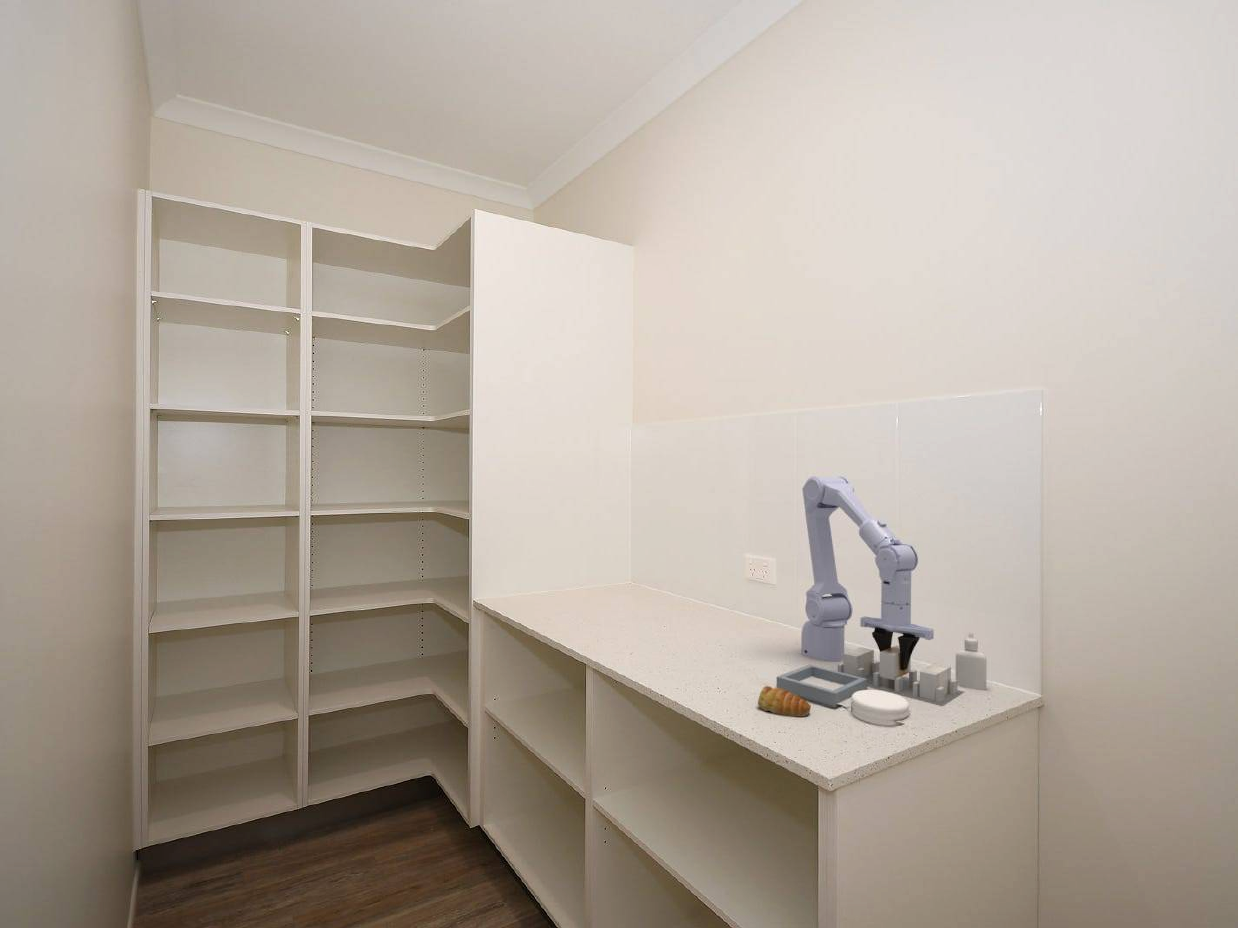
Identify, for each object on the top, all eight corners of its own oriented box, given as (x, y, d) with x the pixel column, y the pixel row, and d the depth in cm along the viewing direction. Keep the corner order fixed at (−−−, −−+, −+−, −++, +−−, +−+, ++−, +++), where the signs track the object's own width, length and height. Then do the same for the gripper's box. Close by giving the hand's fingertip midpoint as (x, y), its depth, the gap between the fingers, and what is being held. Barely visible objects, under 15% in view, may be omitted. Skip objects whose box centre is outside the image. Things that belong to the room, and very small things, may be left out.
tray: (776, 691, 130) (776, 676, 130) (809, 677, 139) (809, 664, 139) (835, 709, 121) (835, 693, 121) (867, 693, 130) (867, 678, 130)
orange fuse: (879, 676, 131) (879, 652, 131) (896, 668, 137) (896, 645, 137) (894, 679, 129) (894, 655, 129) (910, 671, 135) (910, 648, 135)
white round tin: (875, 703, 125) (876, 685, 125) (921, 721, 116) (921, 702, 116) (839, 712, 120) (839, 693, 120) (884, 731, 111) (884, 711, 111)
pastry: (815, 711, 120) (815, 691, 120) (803, 722, 115) (803, 701, 115) (768, 700, 126) (768, 681, 126) (754, 710, 120) (754, 690, 120)
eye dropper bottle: (964, 684, 136) (964, 628, 136) (990, 693, 131) (990, 634, 131) (951, 688, 134) (952, 630, 134) (977, 696, 129) (977, 637, 129)
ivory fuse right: (919, 696, 125) (919, 671, 125) (935, 687, 131) (935, 663, 131) (935, 700, 123) (935, 674, 123) (950, 691, 129) (950, 666, 129)
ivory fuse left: (843, 676, 137) (843, 653, 137) (860, 669, 143) (860, 646, 143) (856, 680, 135) (856, 656, 135) (873, 672, 140) (873, 649, 140)
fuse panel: (830, 681, 137) (830, 664, 137) (856, 669, 145) (856, 654, 145) (942, 711, 120) (942, 692, 120) (964, 696, 129) (964, 679, 129)
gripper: (853, 599, 136) (853, 662, 135) (924, 610, 125) (923, 679, 125) (869, 595, 140) (868, 656, 140) (937, 605, 130) (937, 672, 130)
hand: (895, 667), depth 133 cm, fingers closed on orange fuse, 3 cm apart
